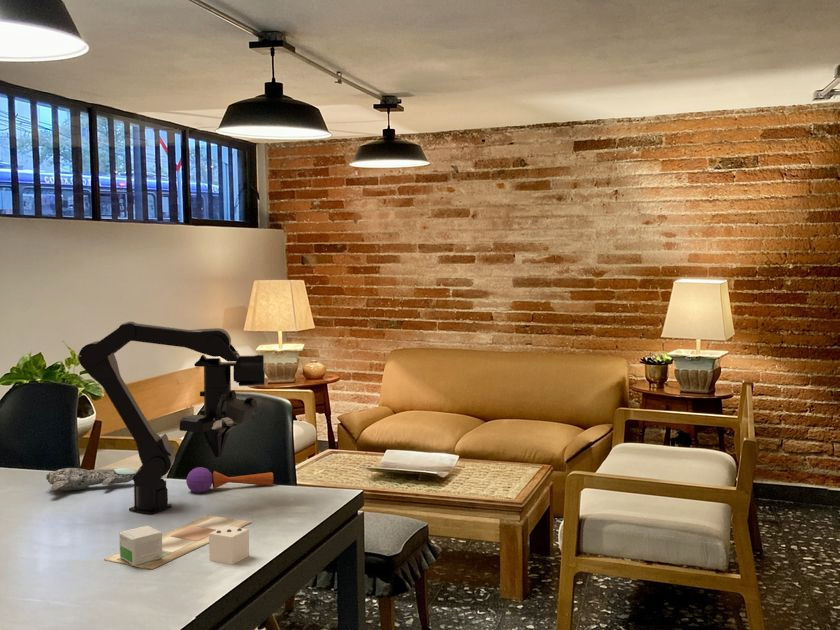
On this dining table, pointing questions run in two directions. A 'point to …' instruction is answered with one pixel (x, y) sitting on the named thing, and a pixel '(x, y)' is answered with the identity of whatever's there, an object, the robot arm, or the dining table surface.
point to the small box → (140, 545)
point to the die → (229, 544)
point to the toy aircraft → (87, 478)
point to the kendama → (222, 479)
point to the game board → (185, 539)
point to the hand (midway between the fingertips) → (218, 457)
